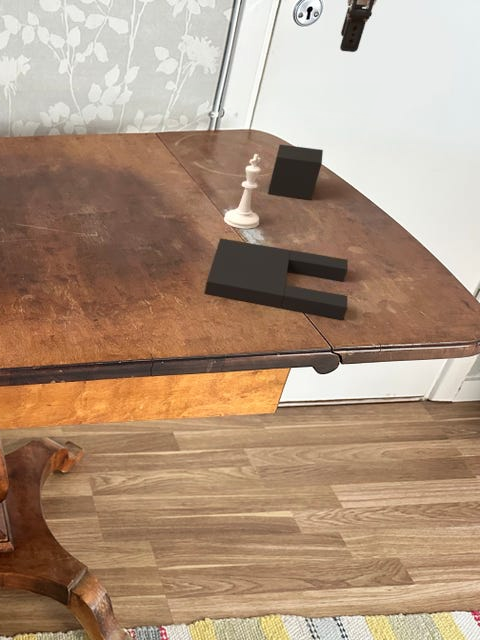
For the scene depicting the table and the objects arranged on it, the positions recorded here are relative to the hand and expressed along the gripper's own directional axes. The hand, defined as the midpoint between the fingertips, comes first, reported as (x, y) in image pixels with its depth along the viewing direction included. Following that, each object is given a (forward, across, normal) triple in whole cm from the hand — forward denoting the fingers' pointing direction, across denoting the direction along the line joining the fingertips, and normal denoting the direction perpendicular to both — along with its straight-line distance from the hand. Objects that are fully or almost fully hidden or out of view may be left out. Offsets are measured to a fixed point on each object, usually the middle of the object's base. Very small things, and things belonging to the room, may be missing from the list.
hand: (348, 43), depth 98 cm
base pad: (+22, -31, +2) cm, 38 cm away
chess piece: (+22, -15, +8) cm, 28 cm away
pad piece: (+22, -1, +2) cm, 22 cm away
